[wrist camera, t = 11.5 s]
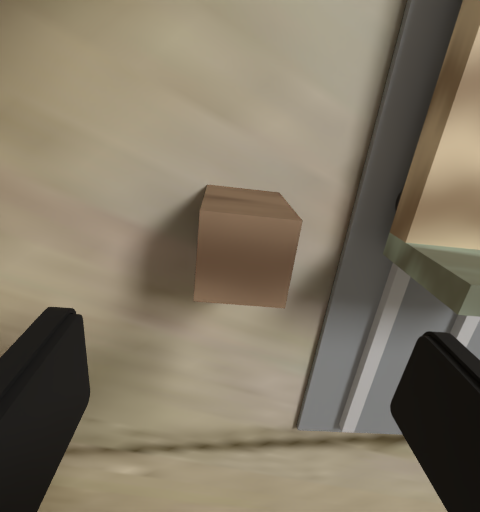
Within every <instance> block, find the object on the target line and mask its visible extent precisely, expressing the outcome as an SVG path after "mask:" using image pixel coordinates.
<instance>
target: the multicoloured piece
mask: <svg viewBox="0 0 480 512" xmlns="http://www.w3.org/2000/svg"><path fill="white" fill-rule="evenodd" d="M395 208H396V214H395V217H394V220H393V223H392V226H391V229H390V233H389V236H388V239H387V242H386V245H385V248H384V252H383V255H384V256H386V257H387V258H388V259H389V260H391V261H392V262H393V263H394V264H395V265H397V266H398V267H399V268H400V269H402V270H403V271H404V272H405V273H407V274H408V275H409V276H410V277H412V278H413V279H414V280H415V281H416V282H418V283H419V284H420V285H421V286H423V287H424V288H425V289H426V290H428V291H429V292H430V293H431V294H433V295H434V296H435V297H436V298H438V299H439V300H440V301H441V302H442V303H444V304H445V305H446V306H447V307H449V308H450V309H451V310H452V311H454V312H455V313H456V314H457V315H465V316H478V317H480V0H463V2H462V5H461V8H460V11H459V14H458V17H457V21H456V24H455V27H454V30H453V33H452V36H451V40H450V43H449V46H448V49H447V52H446V55H445V59H444V62H443V65H442V68H441V71H440V74H439V78H438V81H437V84H436V87H435V90H434V93H433V97H432V100H431V103H430V106H429V109H428V112H427V115H426V119H425V122H424V125H423V128H422V131H421V134H420V138H419V141H418V144H417V147H416V150H415V153H414V157H413V160H412V163H411V166H410V169H409V172H408V176H407V179H406V182H405V185H404V188H403V190H402V191H401V192H400V193H399V195H398V197H397V199H396V204H395Z"/></svg>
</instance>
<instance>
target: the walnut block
mask: <svg viewBox="0 0 480 512" xmlns="http://www.w3.org/2000/svg"><path fill="white" fill-rule="evenodd" d="M301 226H302V220H301V219H300V217H299V216H298V215H297V214H296V212H295V211H294V210H293V209H292V208H291V206H290V205H289V204H288V203H287V201H286V200H285V199H284V198H283V197H282V195H281V194H280V193H278V192H269V191H260V190H251V189H242V188H233V187H224V186H215V185H207V188H206V191H205V194H204V198H203V201H202V204H201V208H200V214H199V228H198V243H197V258H196V272H195V287H194V301H197V302H210V303H223V304H236V305H249V306H262V307H276V308H285V305H286V300H287V295H288V290H289V285H290V280H291V275H292V270H293V265H294V260H295V255H296V250H297V246H298V241H299V236H300V231H301Z"/></svg>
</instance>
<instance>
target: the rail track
mask: <svg viewBox="0 0 480 512" xmlns="http://www.w3.org/2000/svg"><path fill="white" fill-rule="evenodd" d="M462 2H463V0H407V4H406V8H405V12H404V16H403V20H402V23H401V27H400V31H399V35H398V39H397V43H396V46H395V50H394V54H393V58H392V62H391V66H390V70H389V73H388V77H387V81H386V85H385V89H384V93H383V96H382V100H381V104H380V108H379V112H378V116H377V119H376V123H375V127H374V131H373V135H372V139H371V142H370V146H369V150H368V154H367V158H366V162H365V165H364V169H363V173H362V177H361V181H360V185H359V188H358V192H357V196H356V200H355V204H354V208H353V211H352V215H351V219H350V223H349V227H348V231H347V234H346V238H345V242H344V246H343V250H342V254H341V257H340V261H339V265H338V269H337V273H336V277H335V280H334V284H333V288H332V292H331V296H330V300H329V304H328V307H327V311H326V315H325V319H324V323H323V327H322V330H321V334H320V338H319V342H318V346H317V350H316V353H315V357H314V361H313V365H312V369H311V373H310V376H309V380H308V384H307V388H306V392H305V396H304V399H303V403H302V407H301V411H300V415H299V419H298V422H297V429H298V430H307V431H332V432H356V433H381V434H402V432H401V431H400V429H399V427H398V425H397V424H396V422H395V420H394V418H393V417H392V414H391V410H390V404H391V401H392V398H393V396H394V394H395V391H396V389H397V387H398V384H399V382H400V379H401V377H402V375H403V372H404V370H405V368H406V365H407V363H408V360H409V358H410V356H411V353H412V351H413V349H414V346H415V344H416V341H417V339H418V338H419V337H420V336H422V335H423V334H424V333H425V332H428V331H432V332H446V333H450V334H451V335H453V336H454V337H455V338H456V339H457V340H458V341H459V342H461V343H462V344H463V345H464V346H465V347H466V348H467V349H468V350H469V351H470V352H471V353H473V354H474V355H475V356H476V357H477V358H478V359H479V360H480V317H478V316H465V315H457V314H456V313H455V312H454V311H452V310H451V309H450V308H449V307H447V306H446V305H445V304H444V303H442V302H441V301H440V300H439V299H438V298H436V297H435V296H434V295H433V294H431V293H430V292H429V291H428V290H426V289H425V288H424V287H423V286H421V285H420V284H419V283H418V282H416V281H415V280H414V279H413V278H412V277H410V276H409V275H408V274H407V273H405V272H404V271H403V270H402V269H400V268H399V267H398V266H397V265H395V264H394V263H393V262H392V261H391V260H389V259H388V258H387V257H386V256H384V255H383V252H384V248H385V245H386V242H387V239H388V236H389V233H390V229H391V226H392V223H393V220H394V217H395V214H396V208H395V204H396V199H397V197H398V195H399V193H400V192H401V191H402V190H403V188H404V185H405V182H406V179H407V176H408V172H409V169H410V166H411V163H412V160H413V157H414V153H415V150H416V147H417V144H418V141H419V138H420V134H421V131H422V128H423V125H424V122H425V119H426V115H427V112H428V109H429V106H430V103H431V100H432V97H433V93H434V90H435V87H436V84H437V81H438V78H439V74H440V71H441V68H442V65H443V62H444V59H445V55H446V52H447V49H448V46H449V43H450V40H451V36H452V33H453V30H454V27H455V24H456V21H457V17H458V14H459V11H460V8H461V5H462Z"/></svg>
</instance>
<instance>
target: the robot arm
mask: <svg viewBox="0 0 480 512" xmlns="http://www.w3.org/2000/svg"><path fill="white" fill-rule="evenodd" d="M89 397H90V386H89V376H88V366H87V356H86V346H85V336H84V326H83V318H82V315H80V314H76V311H75V310H74V309H73V308H60V307H48V308H47V309H46V310H45V311H44V312H43V313H42V314H41V315H40V316H39V317H38V318H37V319H36V320H35V321H34V322H33V323H32V324H31V326H30V327H29V328H28V329H27V330H26V331H25V332H24V333H23V334H22V335H21V336H20V337H19V338H18V339H17V341H16V342H15V343H14V344H13V345H12V346H11V347H10V348H9V349H8V350H7V351H6V352H5V353H4V354H3V356H2V357H1V358H0V512H37V511H38V509H39V506H40V504H41V502H42V500H43V498H44V496H45V494H46V492H47V490H48V487H49V485H50V483H51V481H52V479H53V477H54V475H55V473H56V470H57V468H58V466H59V464H60V462H61V460H62V458H63V456H64V453H65V451H66V449H67V447H68V445H69V443H70V441H71V439H72V437H73V434H74V432H75V430H76V428H77V426H78V424H79V422H80V420H81V417H82V415H83V413H84V411H85V409H86V407H87V404H88V401H89ZM390 410H391V414H392V417H393V418H394V420H395V422H396V424H397V425H398V427H399V429H400V431H401V432H402V434H403V436H404V437H405V439H406V441H407V443H408V444H409V446H410V448H411V449H412V451H413V453H414V455H415V456H416V458H417V460H418V461H419V463H420V465H421V467H422V468H423V470H424V472H425V474H426V475H427V477H428V479H429V480H430V482H431V484H432V486H433V487H434V489H435V491H436V492H437V494H438V496H439V498H440V499H441V501H442V503H443V505H444V506H445V508H446V510H447V511H448V512H480V360H479V359H478V358H477V357H476V356H475V355H474V354H473V353H471V352H470V351H469V350H468V349H467V348H466V347H465V346H464V345H463V344H462V343H461V342H459V341H458V340H457V339H456V338H455V337H454V336H453V335H451V334H450V333H446V332H432V331H428V332H425V333H424V334H423V335H422V336H420V337H419V338H418V339H417V341H416V344H415V346H414V349H413V351H412V353H411V356H410V358H409V360H408V363H407V365H406V368H405V370H404V372H403V375H402V377H401V379H400V382H399V384H398V387H397V389H396V391H395V394H394V396H393V398H392V401H391V404H390Z"/></svg>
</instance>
